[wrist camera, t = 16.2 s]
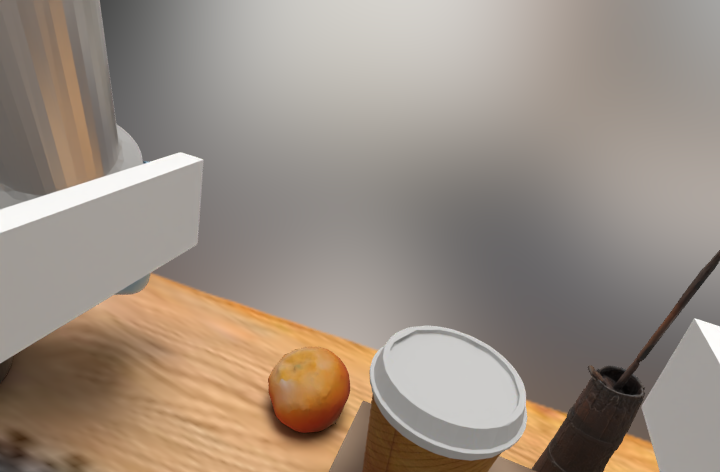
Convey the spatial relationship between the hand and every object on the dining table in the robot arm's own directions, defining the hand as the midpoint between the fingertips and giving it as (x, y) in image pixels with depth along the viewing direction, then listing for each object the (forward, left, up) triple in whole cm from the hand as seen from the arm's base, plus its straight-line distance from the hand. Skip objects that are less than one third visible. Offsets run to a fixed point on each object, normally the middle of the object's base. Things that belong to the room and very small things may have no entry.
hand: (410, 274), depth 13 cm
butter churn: (+15, +28, -32) cm, 45 cm away
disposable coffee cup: (+3, +13, -24) cm, 28 cm away
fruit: (-9, +25, -32) cm, 42 cm away
